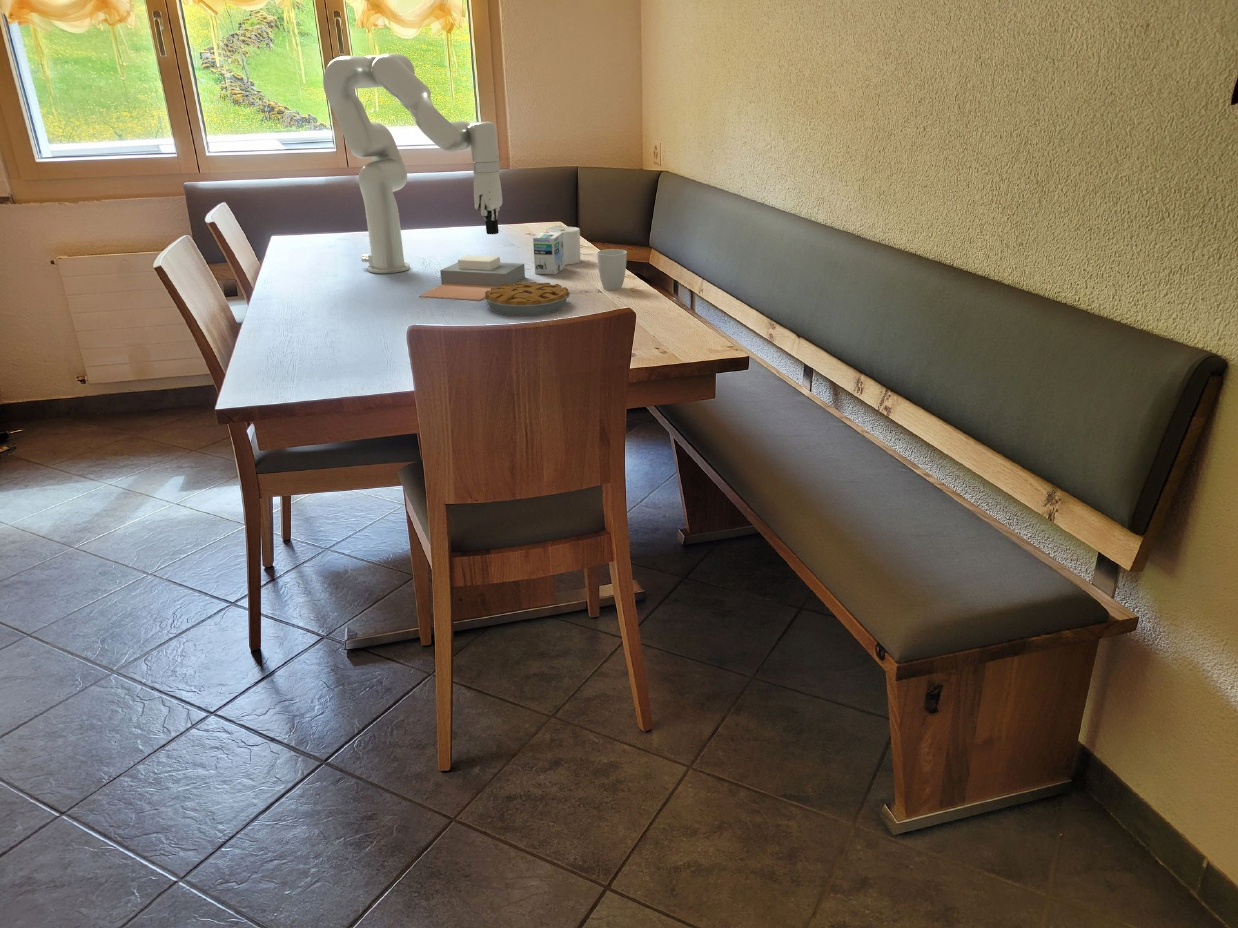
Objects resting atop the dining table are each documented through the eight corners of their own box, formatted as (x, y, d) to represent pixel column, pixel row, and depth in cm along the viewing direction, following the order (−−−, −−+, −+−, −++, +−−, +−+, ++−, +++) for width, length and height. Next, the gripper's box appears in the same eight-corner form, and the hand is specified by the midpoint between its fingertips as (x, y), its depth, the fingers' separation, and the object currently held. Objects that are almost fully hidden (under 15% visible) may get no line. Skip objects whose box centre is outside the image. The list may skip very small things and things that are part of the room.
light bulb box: (555, 275, 260) (554, 238, 256) (534, 274, 262) (532, 237, 257) (565, 267, 270) (563, 231, 265) (544, 267, 271) (542, 231, 267)
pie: (536, 322, 214) (535, 302, 212) (467, 311, 224) (465, 292, 222) (586, 303, 231) (585, 284, 228) (520, 293, 241) (519, 275, 239)
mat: (419, 296, 238) (419, 295, 238) (444, 284, 251) (444, 283, 251) (479, 300, 233) (479, 299, 233) (502, 288, 246) (502, 286, 246)
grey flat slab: (441, 284, 251) (440, 270, 250) (463, 273, 263) (462, 260, 262) (506, 288, 246) (505, 273, 244) (525, 277, 258) (524, 263, 256)
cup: (630, 286, 246) (630, 250, 242) (621, 292, 239) (621, 255, 235) (603, 284, 249) (603, 248, 245) (593, 290, 242) (592, 254, 238)
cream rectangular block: (458, 268, 252) (457, 260, 251) (469, 263, 258) (468, 255, 257) (490, 270, 249) (489, 261, 248) (500, 265, 255) (499, 256, 254)
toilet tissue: (560, 266, 271) (559, 233, 267) (537, 261, 279) (536, 229, 275) (587, 261, 277) (586, 229, 273) (564, 256, 286) (563, 224, 281)
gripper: (485, 165, 258) (491, 229, 265) (462, 171, 245) (470, 238, 252) (508, 165, 256) (514, 229, 263) (487, 171, 243) (494, 238, 250)
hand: (492, 233), depth 258 cm, fingers closed
